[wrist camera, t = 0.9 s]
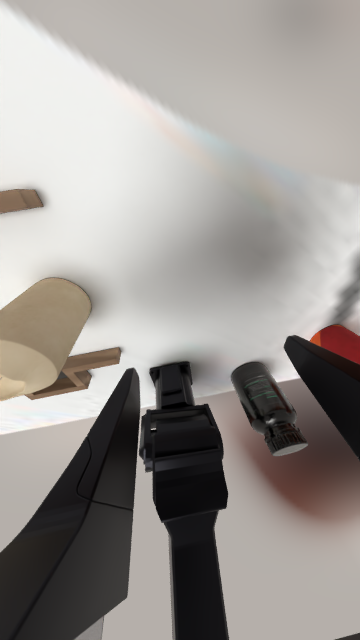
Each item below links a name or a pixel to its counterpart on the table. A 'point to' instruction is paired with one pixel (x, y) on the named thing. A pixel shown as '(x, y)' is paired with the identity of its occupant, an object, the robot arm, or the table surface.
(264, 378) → the supplement bottle
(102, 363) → the trap lane
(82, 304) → the candle
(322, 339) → the paper cup
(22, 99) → the table surface
